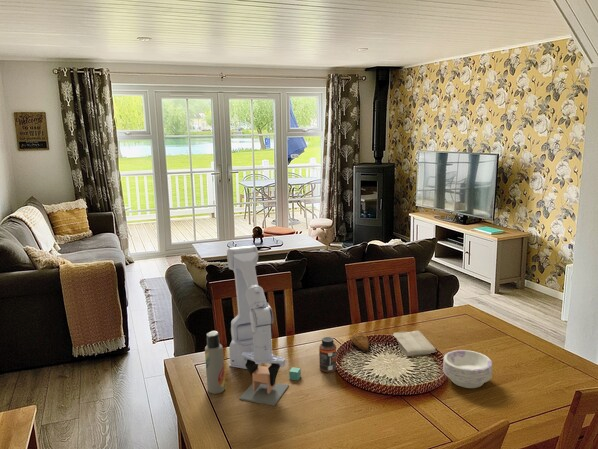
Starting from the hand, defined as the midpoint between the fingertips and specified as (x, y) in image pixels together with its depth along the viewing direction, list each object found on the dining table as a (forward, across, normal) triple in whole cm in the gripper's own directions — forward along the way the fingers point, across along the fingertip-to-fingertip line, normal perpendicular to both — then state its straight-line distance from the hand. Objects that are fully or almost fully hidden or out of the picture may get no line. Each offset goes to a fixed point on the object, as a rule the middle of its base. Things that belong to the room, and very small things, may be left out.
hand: (264, 383), depth 156 cm
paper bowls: (+4, +61, +27) cm, 67 cm away
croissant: (+4, +21, +43) cm, 48 cm away
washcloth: (+4, +41, +49) cm, 64 cm away
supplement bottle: (+4, +15, +21) cm, 26 cm away
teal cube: (+3, +6, +12) cm, 14 cm away
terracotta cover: (+2, 0, 0) cm, 2 cm away
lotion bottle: (+4, -16, -3) cm, 17 cm away
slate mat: (+3, 0, 0) cm, 3 cm away
